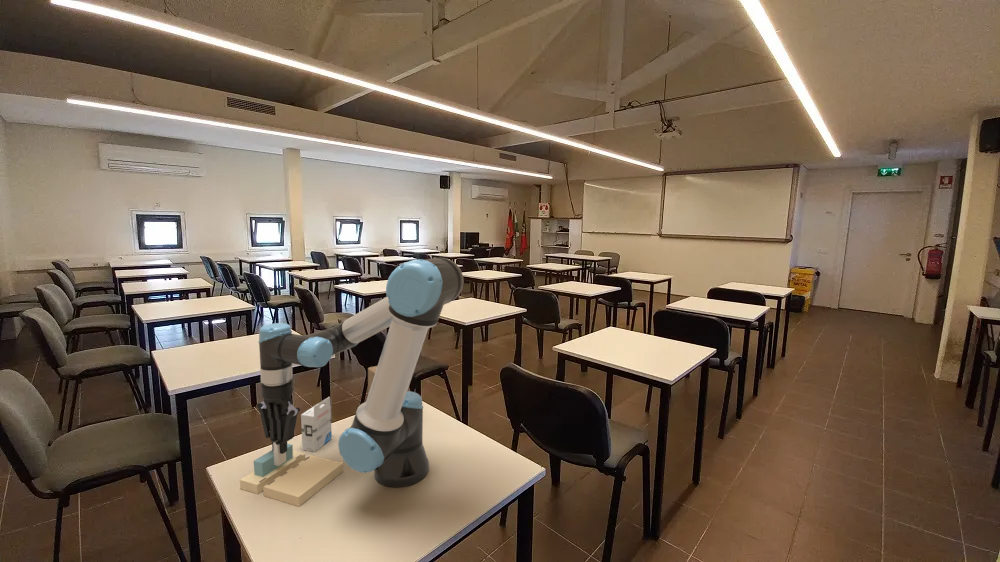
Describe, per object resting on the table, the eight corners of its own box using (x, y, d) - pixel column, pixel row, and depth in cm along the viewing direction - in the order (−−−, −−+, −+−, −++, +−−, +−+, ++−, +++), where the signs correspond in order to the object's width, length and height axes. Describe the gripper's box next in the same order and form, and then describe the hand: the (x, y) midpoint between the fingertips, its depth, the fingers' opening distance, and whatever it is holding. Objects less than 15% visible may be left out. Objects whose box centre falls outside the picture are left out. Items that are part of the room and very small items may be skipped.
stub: (305, 461, 121) (304, 440, 120) (257, 493, 106) (256, 470, 105) (289, 457, 123) (288, 437, 122) (240, 488, 108) (239, 465, 107)
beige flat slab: (343, 471, 117) (342, 462, 116) (298, 506, 102) (298, 496, 101) (310, 462, 120) (310, 454, 120) (263, 495, 105) (263, 486, 105)
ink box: (318, 436, 135) (317, 394, 133) (332, 438, 134) (331, 395, 133) (301, 450, 127) (299, 404, 125) (315, 452, 126) (314, 406, 124)
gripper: (307, 380, 112) (309, 460, 115) (270, 373, 116) (273, 451, 119) (284, 389, 105) (287, 475, 108) (246, 382, 109) (250, 465, 112)
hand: (280, 462), depth 113 cm, fingers closed
